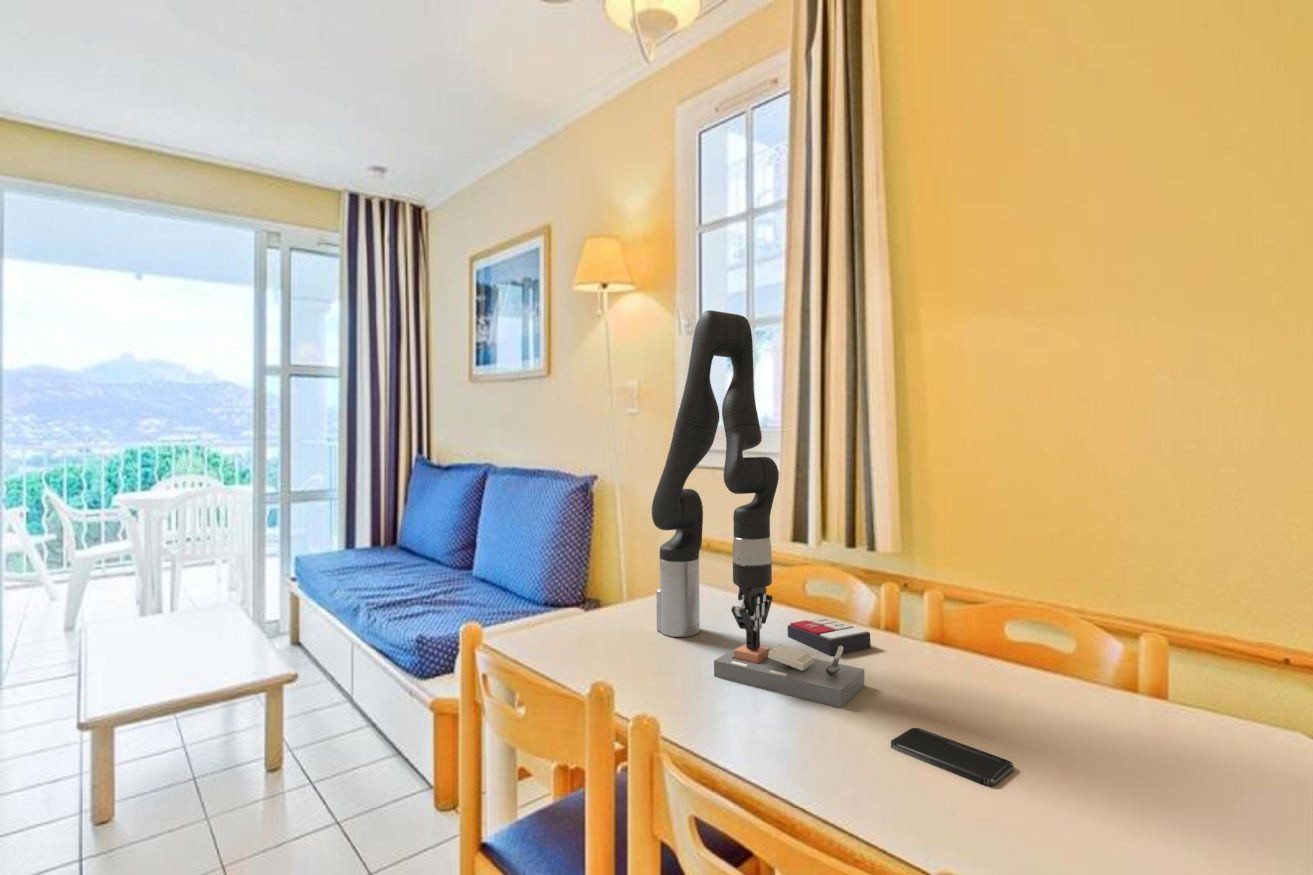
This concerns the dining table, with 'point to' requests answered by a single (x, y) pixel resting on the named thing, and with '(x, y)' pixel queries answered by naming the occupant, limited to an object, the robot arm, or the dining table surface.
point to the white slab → (791, 657)
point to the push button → (751, 654)
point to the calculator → (829, 636)
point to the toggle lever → (835, 663)
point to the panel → (794, 678)
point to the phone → (953, 756)
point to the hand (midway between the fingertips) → (753, 648)
